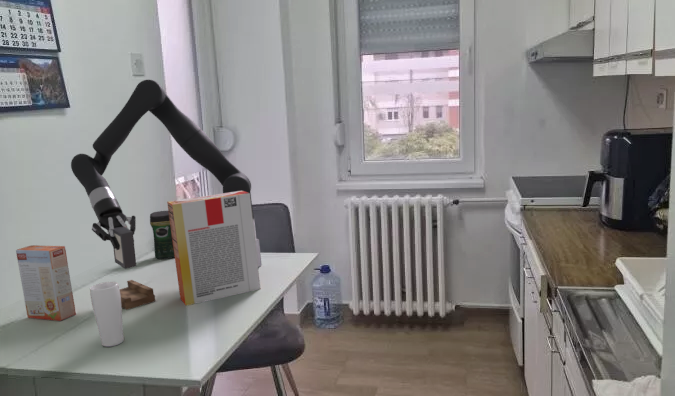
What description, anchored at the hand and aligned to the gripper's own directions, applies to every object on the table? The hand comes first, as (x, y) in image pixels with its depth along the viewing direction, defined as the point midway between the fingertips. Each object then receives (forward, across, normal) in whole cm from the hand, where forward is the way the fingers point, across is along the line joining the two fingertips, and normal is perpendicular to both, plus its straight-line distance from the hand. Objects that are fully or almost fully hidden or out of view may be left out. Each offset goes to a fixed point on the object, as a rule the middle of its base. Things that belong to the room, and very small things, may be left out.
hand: (125, 246), depth 177 cm
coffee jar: (-18, +31, +42) cm, 55 cm away
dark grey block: (+3, 0, +6) cm, 6 cm away
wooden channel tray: (+12, -1, +12) cm, 17 cm away
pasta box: (+26, +20, -1) cm, 33 cm away
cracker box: (+8, -22, +16) cm, 28 cm away
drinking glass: (+34, -17, -10) cm, 39 cm away
